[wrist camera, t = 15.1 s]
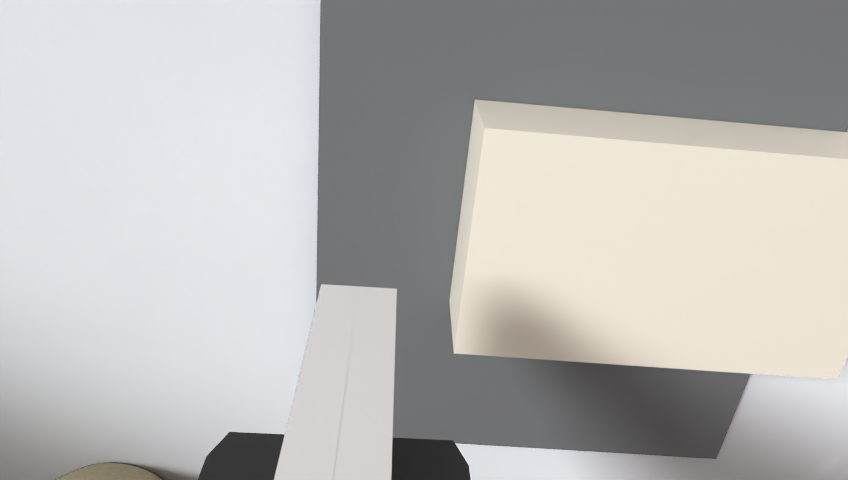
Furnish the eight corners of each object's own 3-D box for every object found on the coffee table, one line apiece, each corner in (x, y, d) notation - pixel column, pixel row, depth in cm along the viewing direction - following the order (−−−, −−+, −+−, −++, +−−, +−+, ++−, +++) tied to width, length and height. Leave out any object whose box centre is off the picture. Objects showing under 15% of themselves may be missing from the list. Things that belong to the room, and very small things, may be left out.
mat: (316, 427, 25) (314, 434, 24) (326, -274, 15) (324, -280, 15) (712, 451, 25) (716, 458, 25) (966, -202, 16) (979, -205, 15)
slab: (453, 353, 19) (837, 379, 19) (484, 127, 16) (938, 167, 16) (449, 300, 22) (785, 324, 22) (474, 98, 19) (863, 133, 19)
